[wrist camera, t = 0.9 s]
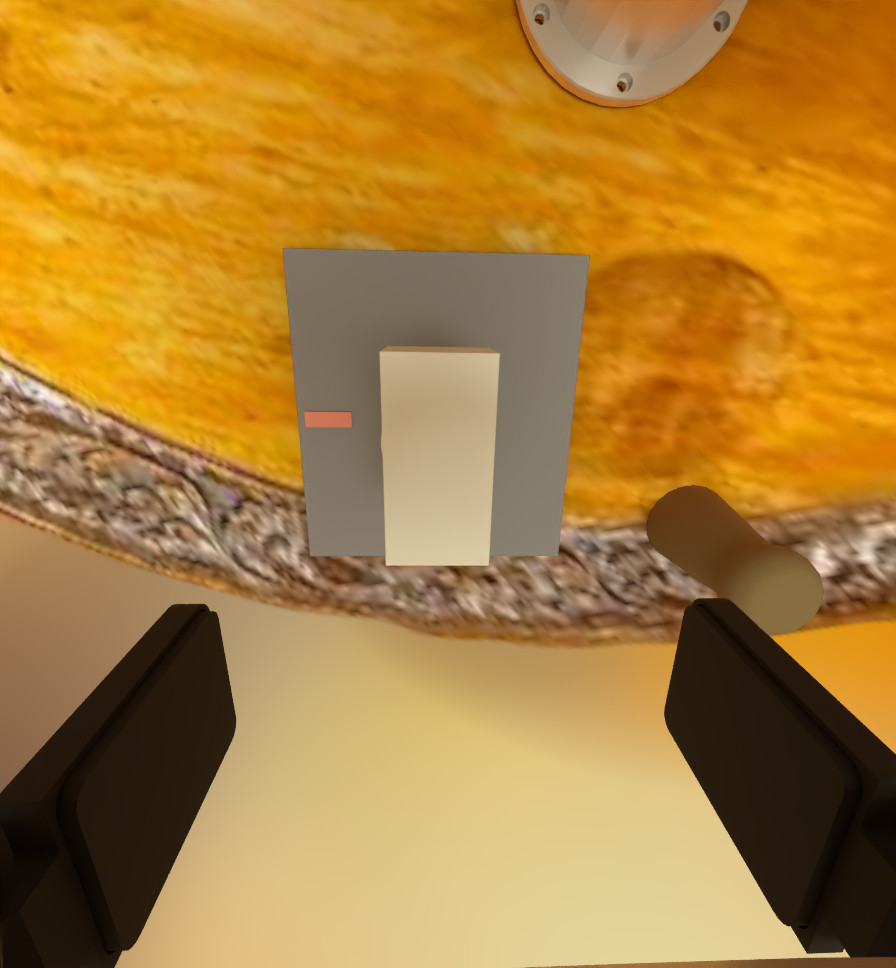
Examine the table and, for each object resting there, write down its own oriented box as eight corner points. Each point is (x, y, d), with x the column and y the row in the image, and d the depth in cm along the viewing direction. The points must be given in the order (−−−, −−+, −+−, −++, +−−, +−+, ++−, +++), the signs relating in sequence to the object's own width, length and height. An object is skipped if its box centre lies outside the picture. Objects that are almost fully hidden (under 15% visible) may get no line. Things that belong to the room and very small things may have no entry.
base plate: (289, 251, 29) (265, 240, 25) (582, 258, 29) (607, 248, 25) (315, 546, 35) (299, 577, 31) (552, 546, 36) (569, 577, 32)
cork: (670, 474, 34) (772, 542, 24) (741, 499, 35) (869, 575, 25) (632, 545, 36) (712, 636, 26) (700, 567, 37) (804, 664, 27)
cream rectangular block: (383, 342, 26) (367, 351, 20) (491, 344, 26) (511, 353, 20) (388, 517, 30) (376, 574, 23) (483, 517, 30) (498, 574, 23)
